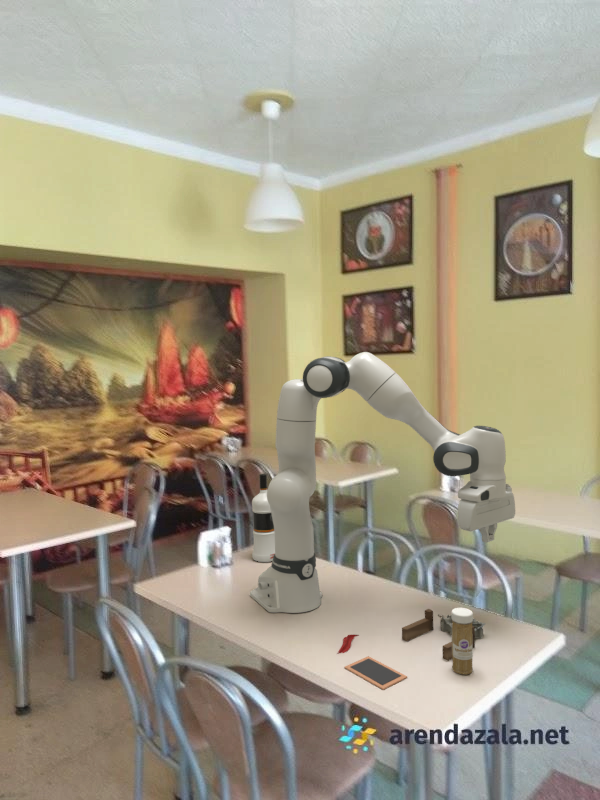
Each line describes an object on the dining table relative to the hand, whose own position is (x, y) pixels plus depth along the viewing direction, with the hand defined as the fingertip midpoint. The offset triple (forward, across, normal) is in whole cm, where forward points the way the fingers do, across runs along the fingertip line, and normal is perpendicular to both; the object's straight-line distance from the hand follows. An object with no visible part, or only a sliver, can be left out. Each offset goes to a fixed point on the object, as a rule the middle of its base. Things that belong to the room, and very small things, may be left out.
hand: (488, 541), depth 159 cm
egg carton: (+22, +11, 0) cm, 24 cm away
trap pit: (+21, +42, 0) cm, 47 cm away
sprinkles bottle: (+21, +26, +12) cm, 36 cm away
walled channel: (+21, +20, 0) cm, 29 cm away
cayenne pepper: (+22, +37, -14) cm, 45 cm away
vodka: (+21, +15, -80) cm, 84 cm away
